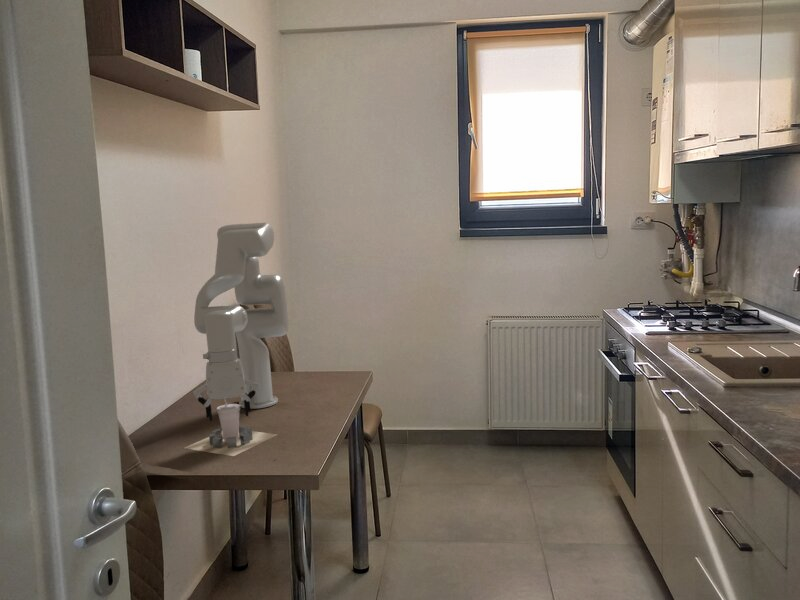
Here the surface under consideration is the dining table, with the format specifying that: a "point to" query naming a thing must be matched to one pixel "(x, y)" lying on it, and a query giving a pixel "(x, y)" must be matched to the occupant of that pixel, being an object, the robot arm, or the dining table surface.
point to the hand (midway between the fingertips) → (228, 417)
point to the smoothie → (229, 420)
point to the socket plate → (205, 446)
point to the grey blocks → (231, 442)
